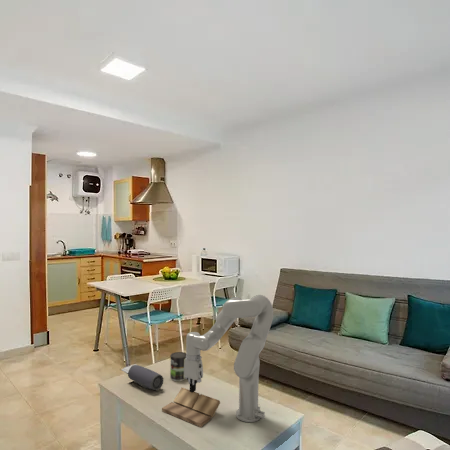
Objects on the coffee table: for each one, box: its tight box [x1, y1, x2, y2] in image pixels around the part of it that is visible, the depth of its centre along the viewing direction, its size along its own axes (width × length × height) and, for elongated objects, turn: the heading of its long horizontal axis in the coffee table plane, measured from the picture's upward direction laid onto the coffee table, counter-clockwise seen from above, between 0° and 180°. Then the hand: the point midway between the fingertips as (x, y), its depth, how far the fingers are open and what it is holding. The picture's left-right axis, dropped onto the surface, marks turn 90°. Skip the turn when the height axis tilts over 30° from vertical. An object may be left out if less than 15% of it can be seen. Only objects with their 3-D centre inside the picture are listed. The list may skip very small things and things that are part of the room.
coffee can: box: [169, 351, 187, 382], centre depth 217 cm, size 10×10×14 cm
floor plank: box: [161, 401, 212, 428], centre depth 173 cm, size 25×8×2 cm, turn 56°
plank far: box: [173, 387, 201, 410], centre depth 184 cm, size 12×8×2 cm
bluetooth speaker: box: [127, 364, 164, 391], centre depth 205 cm, size 23×9×10 cm, turn 51°
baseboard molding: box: [119, 363, 165, 380], centre depth 220 cm, size 31×3×12 cm
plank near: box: [191, 393, 221, 419], centre depth 176 cm, size 12×8×2 cm
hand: (192, 391), depth 185 cm, fingers closed
